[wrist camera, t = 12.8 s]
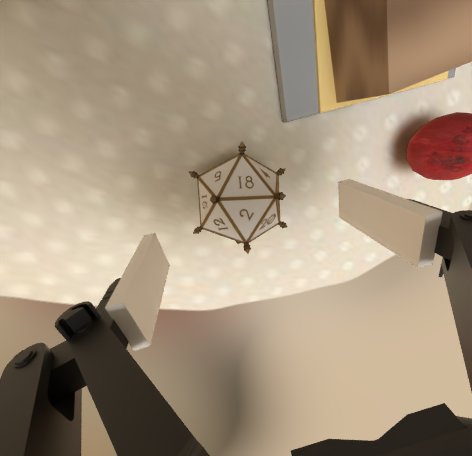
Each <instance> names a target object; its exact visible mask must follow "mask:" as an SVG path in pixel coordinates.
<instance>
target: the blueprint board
mask: <svg viewBox="0 0 472 456" xmlns="http://www.w3.org/2000/svg"><path fill="white" fill-rule="evenodd" d="M267 2H268V10H269V18H270V26H271V34H272V42H273V50H274V58H275V65H276V73H277V81H278V89H279V97H280V105H281V113H282V121H283V122H288V121H292V120H296V119H300V118H303V117H307V116H311V115H314V114H318V113H323V112H327V111H330V110H334V109H338V108H342V107H345V106H349V105H353V104H356V103H360V102H364V101H368V100H371V99H375V98H379V97H382V96H386V95H382V96H376V97H370V98H364V99H357V100H351V101H345V102H339V103H337V101H336V92H335V84H334V76H333V68H332V60H331V51H330V43H329V35H328V27H327V19H326V11H325V2H324V0H267ZM455 70H456V68H454V69H451V70H449V71H446V72H444V73H441V74H439V75H436V76H434V77H431V78H429V79H426V80H424V81H421V82H419V83H416V84H414V85H411V86H409V87H406V88H404V89H401V90H399V91H396V92H394V93H397V92H401V91H405V90H409V89H412V88H416V87H420V86H423V85H427V84H431V83H435V82H438V81H442V80H446V79H448V78H452V77H454V75H455ZM394 93H391V94H394ZM388 95H390V94H388Z"/></svg>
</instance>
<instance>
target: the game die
mask: <svg viewBox="0 0 472 456" xmlns="http://www.w3.org/2000/svg"><path fill="white" fill-rule="evenodd" d="M238 148H239V152H240V153H239V154H238V155H236V156H234V157H232V158H230V159H228V160H227V161H225V162H223V163H221V164H219V165H217V166H216V167H214V168H212V169H210V170H208V171H206V172H205V173H203V174H201V175H198V174H197V172H195V171H191V172H189V173H190V175H191V177H194V178H197V179H198V194H199V209H200V224H201V226H200V227H197V228H195V230H194V232H193V234H195V233H198V234H199V232H201V230H202V229H204V230H207V231H210V232H213V233H215V234H218V235H221V236H224V237H227V238H230V239H232V240H235V241H236V242H237V243H238V244H239V243H244V251H246V252H247V254H248V253H249V251H250V249H251V248H250V245H249V242H251V241H252V240H254V239H256V238H257V237H259V236H260V235H262V234H263V233H265V232H267V231H268V230H270V229H271V228H273V227H274V226H276V225H280V227H282V228H286V227H287V225H286V223H284V222H281V221H280V203H279V200H280V199H281V200H283V198H284V197H285V196H286V195H285V194H283V192H281V193H279V177H278V176H279V175H282V174H283V173H284V171H285V169H281V168H280V169H279V170H278V171H277V172H274V171H272V170H271V169H269V168H267V167H265V166H264V165H262V164H260V163H259V162H257V161H255V160H254V159H252V158H250V157H248V156H247V155H245V154H244V151H246V150H245V148H246V146H245V145H244V144H243V142H241V144H240V146H239V147H238Z"/></svg>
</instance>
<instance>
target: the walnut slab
mask: <svg viewBox="0 0 472 456" xmlns="http://www.w3.org/2000/svg"><path fill="white" fill-rule="evenodd" d="M324 2H325V11H326V19H327V27H328V35H329V43H330V51H331V60H332V68H333V76H334V84H335V92H336V101H337V103H339V102H345V101H351V100H357V99H364V98H370V97H376V96H382V95H388V94H391V93H394V92H396V91H399V90H401V89H404V88H406V87H409V86H411V85H414V84H416V83H419V82H421V81H424V80H426V79H429V78H431V77H434V76H436V75H439V74H441V73H444V72H446V71H449V70H451V69H454V68H456V67H459V66H461V65H464V64H466V63H469V62H471V61H472V0H324Z"/></svg>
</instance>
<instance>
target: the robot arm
mask: <svg viewBox="0 0 472 456" xmlns="http://www.w3.org/2000/svg"><path fill="white" fill-rule="evenodd" d="M338 189H339V217H340V218H341V219H343V220H344V221H346V222H347V223H349V224H350V225H352V226H353V227H355V228H357V229H358V230H360V231H361V232H363V233H364V234H366V235H367V236H369V237H370V238H372V239H374V240H375V241H377V242H378V243H380V244H381V245H383V246H384V247H386V248H387V249H389V250H391V251H392V252H394V253H395V254H397V255H398V256H400V257H401V258H403V259H404V260H406V261H408V262H409V263H411V264H412V265H414V266H415V267H417V268H420V267H423V266H427V265H430V264H433V260H434V254H435V253H437V254H439V255H440V256H442V257H443V259H442V264H441V268H440V273H439V277H442V275H443V274H444V277H445V281H446V285H447V289H448V293H449V298H450V302H451V307H452V311H453V315H454V319H455V323H456V328H457V332H458V336H459V340H460V345H461V349H462V353H463V357H464V361H465V366H466V370H467V374H468V378H469V382H470V387H471V391H472V211H470V210H467V211H458V212H455V213H450V212H447V211H444V210H441V209H438V208H436V207H433V206H429V205H427V204H424V203H423V204H422V203H421V202H418V201H415V200H411V199H405V198H402V197H399V196H396V195H393V194H390V193H387V192H385V191H382V190H379V189H376V188H373V187H370V186H367V185H364V184H361V183H359V182H356V181H353V180H350V179H347V180H344V181H340V182H338ZM169 266H170V265H169V263H168V261H167V259H166V256H165V254H164V252H163V250H162V248H161V245H160V243H159V241H158V239H157V237H156V234H155V233H153V234H149V235H146V236H144V237H143V239H142V240H141V242H140V244H139V246H138V248H137V250H136V251H135V253H134V255H133V257H132V259H131V261H130V262H129V264H128V266H127V268H126V270H125V272H124V273H123V275H122V277H121V278H119V279H116V280H115V281H114V282H113V283H112V284H111V285H110V286H109V288H108V290H107V291H106V294H105V295H104V296H103V298H102V300H101V301H100V303H99V305H98V307H97V308H96V309H95V307H94V306H93V305H92V303H90V302H82V303H79V304H76V305H75V306H73V307H71V308H69V309H68V310H67V311H65V312H64V313H63V314H62V315H61V316H60V317H59V318H58V319H57V321H56V322H55V327H56V328H57V330H58V331H59V332H60V333H61V334H62V335H63V337H64V338H65V339H66V340H67V341H65V342H63V343H61V344H59V345H57V346H55V347H53V348H51V349H49V348H48V347H47V346H46V345H45V344H44V343H37V344H35V345H32V346H30V347H28V348H26V349H25V350H22V351H21V352H20V353H18V355H16V356H15V357H14V358H13V359H12V360H11V361H10V362H9V363H8V364H7V366H6V367H5V369H4V371H3V373H2V376H1V379H0V456H81V395H82V390H81V389H82V388H83V387H85V386H86V385H87V387H88V389H89V392H90V394H91V396H92V399H93V401H94V403H95V405H96V408H97V410H98V412H99V415H100V417H101V419H102V421H103V424H104V426H105V428H106V430H107V433H108V435H109V437H110V440H111V442H112V444H113V446H114V449H115V451H116V453H117V456H210V455H209V454H208V453H207V452H206V450H205V449H204V448H203V447H202V445H201V444H200V443H199V442H198V441H197V440H196V439H195V438H194V436H193V435H192V434H191V432H190V431H189V430H188V428H187V427H186V426H185V425H184V423H183V422H182V421H181V419H180V418H179V417H178V416H177V414H176V413H175V412H174V410H173V409H172V408H171V406H170V405H169V404H168V403H167V401H166V400H165V399H164V397H163V396H162V395H161V394H160V392H159V391H158V390H157V389H156V387H155V386H154V384H153V383H152V382H151V381H150V379H149V378H148V377H147V375H146V374H145V373H144V372H143V370H142V369H141V368H140V366H139V365H138V364H137V362H136V361H135V360H134V359H133V357H132V356H131V355H130V353H129V352H128V351H127V350H126V348H127V345H128V343H129V344H130V346H131V347H132V348H133V350H138V349H141V348H145V347H148V346H150V345H151V341H152V336H153V332H154V328H155V324H156V320H157V316H158V311H159V307H160V303H161V299H162V295H163V291H164V286H165V282H166V278H167V274H168V270H169ZM291 454H292V456H472V419H470V418H464V417H458V416H455V415H454V414H453V412H452V411H451V410H450V409H449V408H448V407H447V406H446V404H445V403H444V404H440V405H437V406H434V407H431V408H428V409H424V410H421V411H418V412H415V413H411V414H408V415H406V416H405V417H404V418H403V419H402V420H400V421H399V422H398V423H397V424H396V425H395V426H393V427H392V428H391V429H390V430H389V431H387V432H386V433H385V434H384V435H383V436H382V437H380V438H379V439H377V440H375V441H362V440H341V439H327V440H324V441H321V442H317V443H314V444H311V445H308V446H305V447H302V448H298V449H295V450H292V451H291Z"/></svg>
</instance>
